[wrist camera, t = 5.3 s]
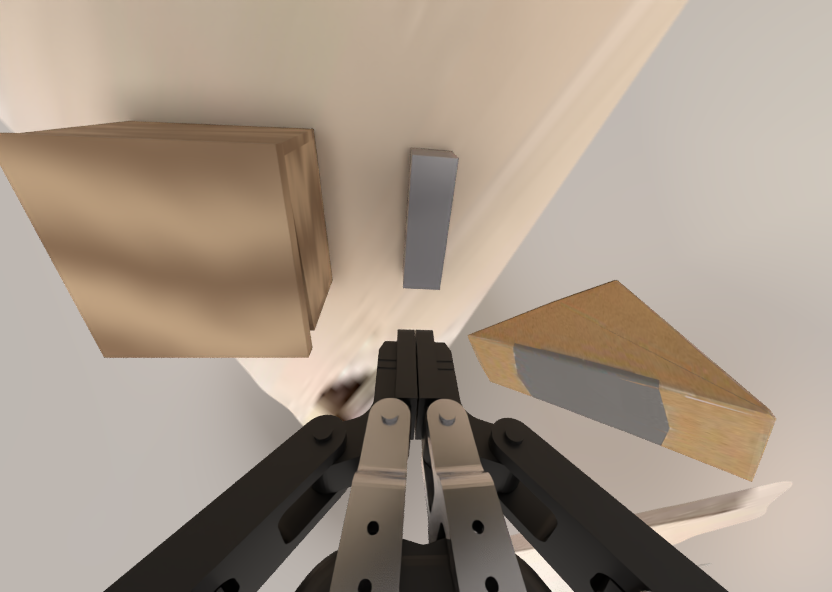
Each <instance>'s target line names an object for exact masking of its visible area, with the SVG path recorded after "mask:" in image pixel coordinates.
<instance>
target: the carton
mask: <svg viewBox="0 0 832 592" xmlns="http://www.w3.org/2000/svg"><path fill="white" fill-rule="evenodd" d="M25 133H26V134H51V135H76V136H102V137H127V138H152V139H177V140H203V141H228V142H253V143H278V144H283V149H284V156H285V163H286V170H287V177H288V184H289V191H290V197H291V204H292V211H293V218H294V225H295V232H296V239H297V246H298V252H299V259H300V266H301V273H302V280H303V287H304V294H305V301H306V307H307V314H308V321H309V328H310V330H315V327H316V325H317V322H318V319H319V316H320V313H321V311H322V308H323V305H324V302H325V299H326V297H327V294H328V291H329V288H330V285H331V283H332V273H331V265H330V257H329V249H328V241H327V233H326V225H325V217H324V209H323V201H322V193H321V185H320V177H319V168H318V160H317V152H316V144H315V136H314V129H304V128H280V127H257V126H233V125H210V124H186V123H163V122H139V121H125V122H116V123H107V124H98V125H88V126H79V127H70V128H61V129H52V130H43V131H34V132H25Z"/></svg>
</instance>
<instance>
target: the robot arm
mask: <svg viewBox="0 0 832 592" xmlns="http://www.w3.org/2000/svg"><path fill="white" fill-rule="evenodd" d="M414 429H415V439H417V440H418V439H420V440H422V456H421V465H422V473H423V481H424V489H425V498H426V506H427V514H428V540H429V544H425V545H422V544H418V543H414V542H412V541H408V540H405V539H402V538H403V522H404V507H405V492H406V477H407V460H408V457H409V449H410V440H413V439H414ZM348 487H351V491H350V495H349V500H348V505H347V510H346V515H345V519H344V524H343V529H342V534H341V539H340V543H339V548H338V550H337V551H335V552H333V553H332V554H330V555H329V556H327V557H326V558H325V559H324V560H322V561H321V562H320V563H319V564H318V565H317V566H316V567H315V568H314V569H313V570H312V571H311V572H310V573H309V574H308V575H307V576H306V578H305V579H304V580H303V582H302V583H301V584H300V585H299V587H298V588H297V590H296V591H295V592H552V591H551V590H550V589H549V588H548V586H547V585H546V584H545V583H544V582H543V580H542V579H541V578H540V577H539V576H538V574H537V573H536V572H535V571H534V570H533V569H532V568H531V567H530V566H529V565H528V564H527V563H526V562H525V561H524V560H523V559H521V558H520V557H519V556H517V555H516V554H515V551H514V548H513V545H512V541H511V538H510V535H509V532H508V528H507V525H506V522H505V519H504V516H505V517H506V518H507V519H508V520H509V521H510V522H511V523H512V524H513V526H514V527H515V528H516V529H517V530H518V531H519V532H520V533H521V534H522V535H523V536H524V537H525V539H526V540H527V541H528V542H529V543H530V544H531V545H532V546H533V547H534V548H535V549H536V551H537V552H538V553H539V554H540V555H541V556H542V557H543V558H544V559H545V560H546V561H547V563H548V564H549V565H550V566H551V567H552V568H553V569H554V570H555V571H556V572H557V573H558V575H559V576H560V577H561V578H562V579H563V580H564V581H565V582H566V583H567V584H568V585H569V587H570V588H571V589H572V590H573V591H574V592H728V591H727V590H726V589H725V588H723V587H722V586H721V585H720V584H718V583H717V582H716V581H715V580H713V579H712V578H711V577H710V576H709V575H707V574H706V573H705V572H704V571H703V570H701V569H700V568H699V567H698V566H697V565H695V564H694V563H693V562H692V561H690V560H689V559H688V558H687V557H686V556H684V555H683V554H682V553H681V552H680V551H678V550H677V549H676V548H675V547H674V546H672V545H671V544H670V543H669V542H667V541H666V540H665V539H664V538H663V537H661V536H660V535H659V534H658V533H656V532H655V531H654V530H653V529H652V528H650V527H649V526H648V525H647V524H646V523H644V522H643V521H642V520H641V519H639V518H638V517H637V516H636V515H635V514H633V513H632V512H631V511H630V510H628V509H627V508H626V507H625V506H624V505H622V504H621V503H620V502H619V501H617V500H616V499H615V498H614V497H613V496H611V495H610V494H609V493H608V492H607V491H605V490H604V489H603V488H601V487H600V486H599V485H598V484H597V483H596V482H594V481H593V480H592V479H591V478H590V477H588V476H587V475H586V474H584V473H583V472H582V471H581V470H580V469H579V468H577V467H576V466H575V465H574V464H572V463H571V462H570V461H569V460H567V459H566V458H565V457H564V456H563V455H561V454H560V453H559V452H558V451H557V450H555V449H554V448H553V447H552V446H551V445H549V444H548V443H547V442H546V441H545V440H543V439H542V438H541V437H540V436H538V435H537V434H536V433H535V432H533V431H532V430H531V429H530V428H528V427H527V426H526V425H525V424H524V423H522V422H520V421H518V420H516V419H512V418H502V419H500V420H498V421H496V422H495V423H494V424H492V423H489V422H485V421H483V420H480V419H477V418H475V417H473V416H472V415H470V414H469V413H468V412H467V411H466V410H465V409H464V408H463V406H462V404H461V402H460V397H459V392H458V387H457V381H456V376H455V371H454V365H453V359H452V354H451V351H450V349H449V348H448V346H447V345H446V344H445V343H438V342H434V336H433V330H416V331H415V330H401V329H398V335H397V341H385V342H384V343H383V345H382V346H381V347H380V349H379V355H378V365H377V375H376V385H375V395H374V402H373V404H372V406H371V408H370V409H369V410H368V411H367V412H366V413H365V414H363V415H362V416H360V417H357V418H355V419H351V420H348V421H344V422H343V421H342V420H341V419H340V418H338V417H336V416H333V415H322V416H318V417H316V418H314V419H312V420H311V421H309V422H308V423H307V424H306V425H304V426H303V427H302V428H301V429H300V430H298V431H297V432H296V433H295V434H294V435H292V436H291V437H290V438H289V439H288V440H286V441H285V442H284V443H283V444H281V445H280V446H279V447H278V448H277V449H275V450H274V451H273V452H272V453H271V454H269V455H268V456H267V457H266V458H265V459H263V460H262V461H261V462H260V463H258V464H257V465H256V466H255V467H254V468H253V469H251V470H250V471H249V472H248V473H246V474H245V475H244V476H243V477H242V478H240V479H239V480H238V481H237V482H235V484H233V485H232V486H231V487H229V488H228V489H227V490H226V491H225V492H223V493H222V494H221V495H220V496H219V497H217V498H216V499H215V500H214V501H213V502H211V503H210V504H209V505H208V506H206V508H204V509H203V510H202V511H200V512H199V513H198V514H197V515H196V516H194V517H193V518H192V519H191V520H189V521H188V522H187V523H186V524H185V525H183V526H182V527H181V528H180V529H179V530H177V531H176V532H175V533H174V534H173V535H171V536H170V537H169V538H168V539H166V541H164V542H163V543H162V544H160V545H159V546H158V547H157V548H156V549H154V550H153V551H152V552H151V553H150V554H149V555H147V556H146V557H145V558H143V559H142V560H141V561H140V562H139V563H137V564H136V565H135V566H134V567H133V568H131V569H130V570H129V571H128V572H127V573H125V574H124V575H123V576H122V577H120V578H119V579H118V580H117V581H116V582H114V583H113V584H112V585H111V586H110V587H108V588H107V589H106V590H105V591H104V592H257V591H258V590H259V589H260V587H261V586H262V585H263V584H264V583H265V582H266V581H267V580H268V578H269V577H270V576H271V575H272V574H273V573H274V572H275V571H276V569H277V568H278V567H279V566H280V565H281V564H282V563H283V562H284V560H285V559H286V558H287V557H288V556H289V555H290V554H291V552H292V551H293V550H294V549H295V548H296V546H298V545H299V543H300V542H301V541H302V540H303V539H304V538H305V537H306V535H307V534H308V533H309V532H310V531H311V530H312V529H313V528H314V527H315V525H316V524H317V523H318V522H319V521H320V520H321V519H322V518H323V516H324V515H325V514H326V513H327V512H328V511H329V509H330V508H331V507H332V506H333V505H334V504H335V503H336V502H337V501H338V499H339V498H340V497H341V496H342V495H343V494H344V493H345V491H346V490H347V488H348Z"/></svg>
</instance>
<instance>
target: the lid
mask: <svg viewBox="0 0 832 592" xmlns="http://www.w3.org/2000/svg"><path fill="white" fill-rule="evenodd" d="M0 166H1V168H2V169H3V171H4V173H5V175H6V177H7V179H8V181H9V182H10V184H11V186H12V188H13V190H14V191H15V193H16V195H17V197H18V199H19V201H20V203H21V205H22V206H23V208H24V210H25V212H26V214H27V216H28V217H29V219H30V221H31V223H32V225H33V227H34V228H35V230H36V232H37V234H38V236H39V238H40V239H41V242H42V243H43V245H44V247H45V249H46V251H47V252H48V254H49V256H50V258H51V260H52V262H53V264H54V266H55V267H56V269H57V271H58V273H59V275H60V277H61V278H62V280H63V282H64V284H65V286H66V288H67V289H68V291H69V293H70V295H71V297H72V299H73V301H74V302H75V304H76V306H77V308H78V310H79V312H80V314H81V316H82V317H83V319H84V321H85V323H86V325H87V326H88V328H89V330H90V332H91V334H92V336H93V338H94V340H95V341H96V343H97V345H98V347H99V349H100V351H101V352H102V354H103V356H104V358H105V357H106V358H108V357H109V358H122V357H123V358H129V357H131V358H137V357H138V358H142V357H143V358H155V357H156V358H158V357H159V358H160V357H161V358H165V357H167V358H175V357H178V358H180V357H181V358H187V357H188V358H191V357H193V358H197V357H199V358H209V357H210V358H211V357H212V358H215V357H216V358H220V357H221V358H227V357H228V358H230V357H232V358H309V355H310V353H311V350H312V342H311V335H310V328H309V321H308V314H307V307H306V301H305V294H304V287H303V280H302V273H301V266H300V259H299V252H298V246H297V239H296V232H295V225H294V218H293V211H292V204H291V197H290V191H289V184H288V177H287V170H286V163H285V156H284V149H283V144H278V143H253V142H228V141H203V140H177V139H152V138H127V137H102V136H76V135H51V134H26V133H0Z"/></svg>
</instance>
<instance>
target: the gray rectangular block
mask: <svg viewBox="0 0 832 592" xmlns="http://www.w3.org/2000/svg"><path fill="white" fill-rule="evenodd" d="M458 160H459V158H458V157H457V156H456V155H455V154H454V153H453V151H444V150H431V149H419V148H411V154H410V169H409V185H408V200H407V216H406V231H405V247H404V262H403V288H411V289H432V290H440V284H441V277H442V270H443V263H444V257H445V250H446V243H447V236H448V229H449V222H450V215H451V208H452V201H453V194H454V187H455V180H456V173H457V167H458Z"/></svg>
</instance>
